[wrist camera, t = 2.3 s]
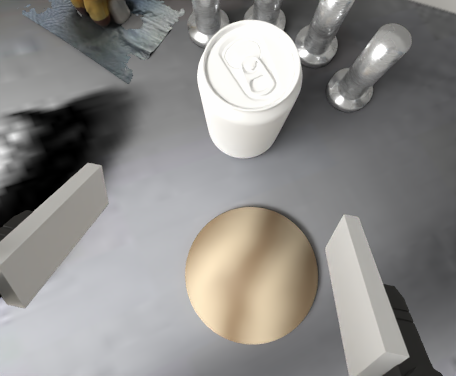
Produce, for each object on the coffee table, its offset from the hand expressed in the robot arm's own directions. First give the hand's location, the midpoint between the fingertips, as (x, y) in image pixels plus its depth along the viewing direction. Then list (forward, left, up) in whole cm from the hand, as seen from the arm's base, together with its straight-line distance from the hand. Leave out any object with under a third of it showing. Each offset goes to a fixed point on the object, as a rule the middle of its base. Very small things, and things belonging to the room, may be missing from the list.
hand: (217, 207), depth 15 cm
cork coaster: (-4, +5, -15) cm, 16 cm away
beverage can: (0, -11, -15) cm, 19 cm away
